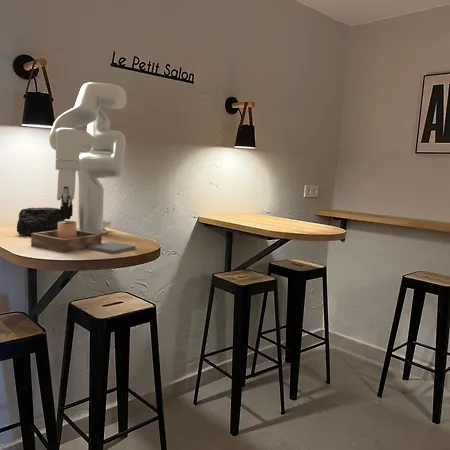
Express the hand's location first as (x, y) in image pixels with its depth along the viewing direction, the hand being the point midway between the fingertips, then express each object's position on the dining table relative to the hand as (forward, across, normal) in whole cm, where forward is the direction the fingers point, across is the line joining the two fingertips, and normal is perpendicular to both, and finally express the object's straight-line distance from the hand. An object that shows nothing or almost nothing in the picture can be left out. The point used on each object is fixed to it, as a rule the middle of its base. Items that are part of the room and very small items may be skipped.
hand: (66, 217), depth 151 cm
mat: (+10, +4, +15) cm, 18 cm away
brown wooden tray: (+10, -1, 0) cm, 10 cm away
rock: (+9, -25, -10) cm, 28 cm away
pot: (+10, -1, 0) cm, 10 cm away
